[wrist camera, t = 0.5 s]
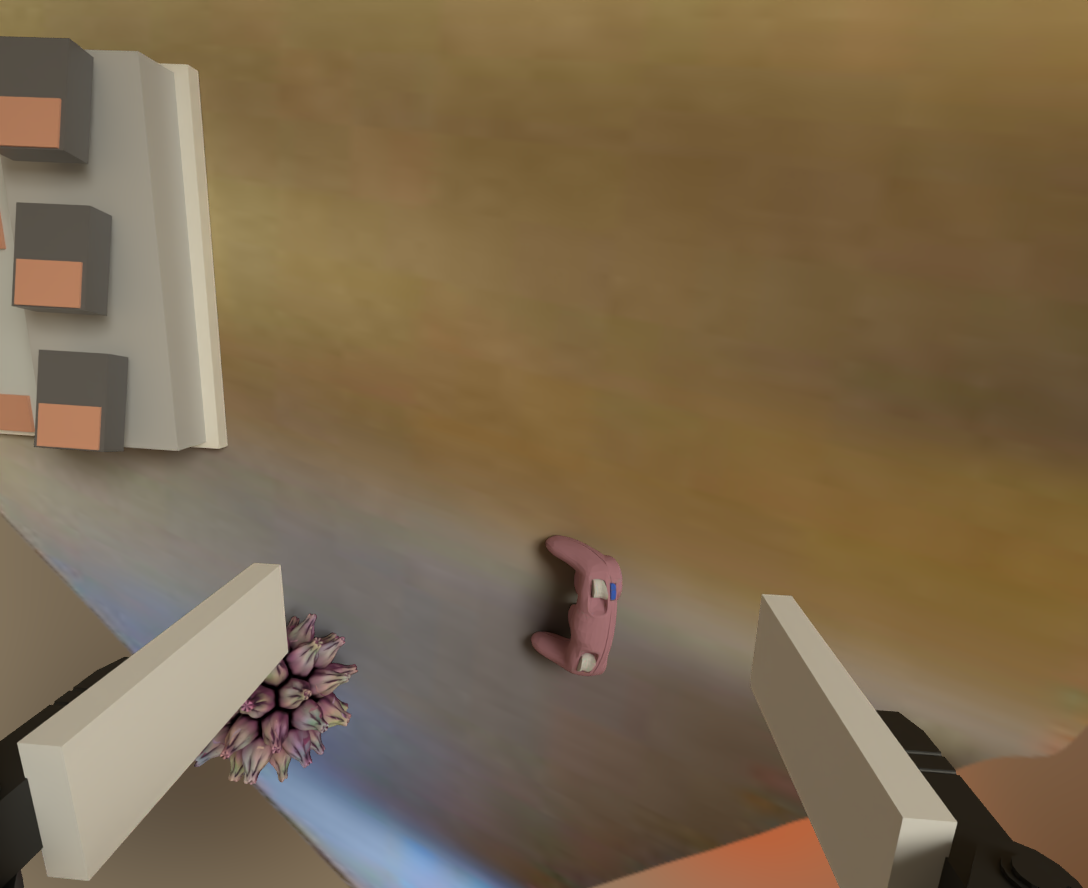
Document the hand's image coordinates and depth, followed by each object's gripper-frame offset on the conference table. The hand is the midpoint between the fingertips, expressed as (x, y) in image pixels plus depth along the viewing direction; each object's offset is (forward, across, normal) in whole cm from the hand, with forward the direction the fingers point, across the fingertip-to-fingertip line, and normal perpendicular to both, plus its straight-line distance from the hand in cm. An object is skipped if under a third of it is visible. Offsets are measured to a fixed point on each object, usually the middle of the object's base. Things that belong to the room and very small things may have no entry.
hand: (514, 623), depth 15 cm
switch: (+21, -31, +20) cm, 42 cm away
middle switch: (+21, -32, +10) cm, 39 cm away
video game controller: (+27, +2, -13) cm, 30 cm away
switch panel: (+27, -36, +10) cm, 46 cm away
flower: (+27, -20, -20) cm, 39 cm away
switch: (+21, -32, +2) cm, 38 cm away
